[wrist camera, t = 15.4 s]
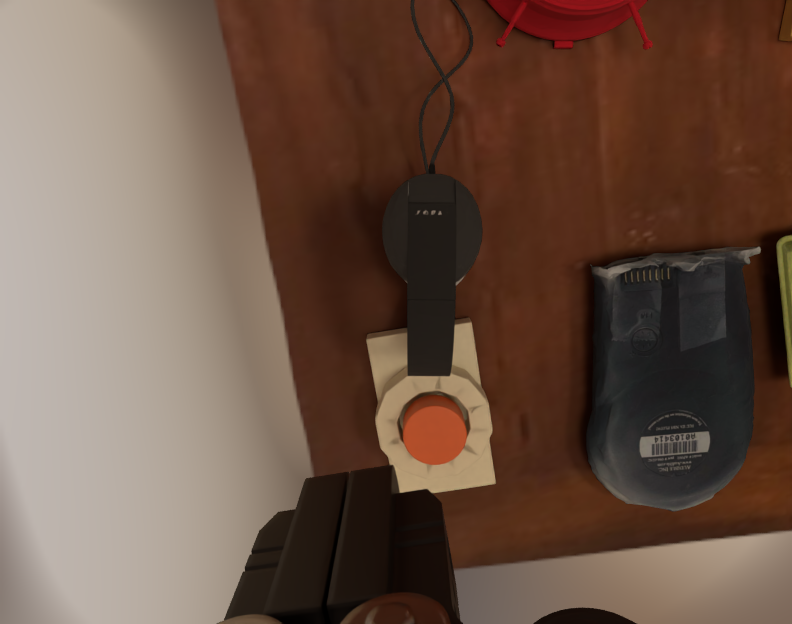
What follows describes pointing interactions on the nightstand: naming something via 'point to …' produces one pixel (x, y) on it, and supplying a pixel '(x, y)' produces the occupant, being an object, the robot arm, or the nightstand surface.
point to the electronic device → (671, 376)
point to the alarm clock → (567, 18)
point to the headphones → (432, 247)
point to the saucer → (786, 293)
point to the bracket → (786, 23)
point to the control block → (404, 390)
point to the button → (434, 430)
